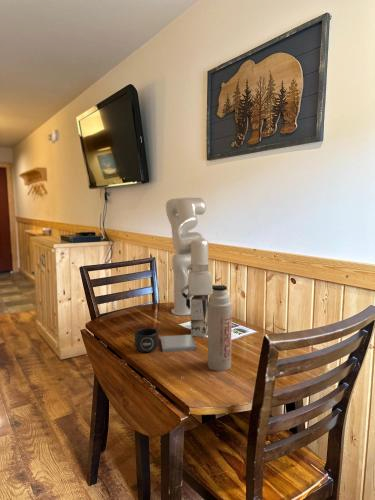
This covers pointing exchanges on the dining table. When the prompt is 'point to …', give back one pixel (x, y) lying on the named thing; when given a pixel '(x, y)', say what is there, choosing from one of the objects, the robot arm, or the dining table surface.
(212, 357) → the thermos bottle
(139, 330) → the mug
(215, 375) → the dining table surface
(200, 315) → the coffee box
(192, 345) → the slate trivet
